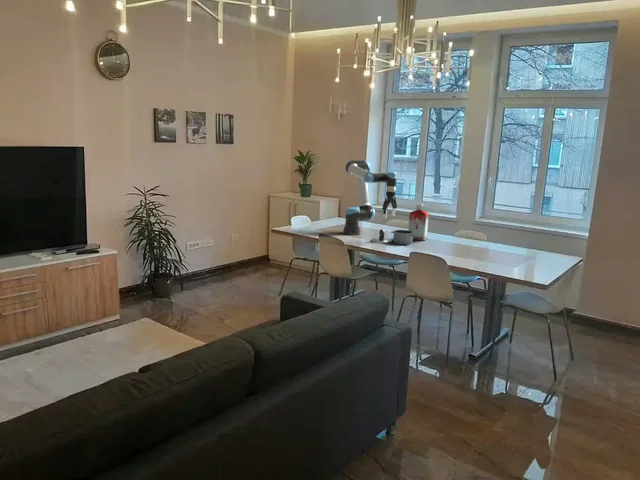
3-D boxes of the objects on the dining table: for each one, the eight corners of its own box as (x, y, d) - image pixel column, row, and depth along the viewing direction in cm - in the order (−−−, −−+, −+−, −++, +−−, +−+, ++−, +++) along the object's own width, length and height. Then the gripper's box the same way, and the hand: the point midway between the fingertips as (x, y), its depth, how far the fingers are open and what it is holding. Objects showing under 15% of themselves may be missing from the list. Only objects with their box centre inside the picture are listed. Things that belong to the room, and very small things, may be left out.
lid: (367, 241, 422) (368, 229, 420) (378, 238, 434) (379, 227, 432) (384, 244, 412) (385, 232, 410) (395, 241, 424) (395, 230, 422)
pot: (387, 241, 421) (387, 231, 419) (397, 239, 433) (397, 228, 431) (408, 245, 408) (409, 234, 406) (418, 243, 420) (419, 232, 418)
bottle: (407, 239, 435) (409, 204, 429) (410, 237, 444) (413, 202, 438) (423, 241, 429) (426, 205, 423) (427, 239, 438) (430, 204, 432)
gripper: (387, 192, 404) (385, 219, 409) (402, 190, 424) (400, 215, 428) (378, 191, 409) (377, 217, 413) (394, 189, 428) (392, 214, 433)
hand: (389, 216), depth 421 cm, fingers open, 13 cm apart
